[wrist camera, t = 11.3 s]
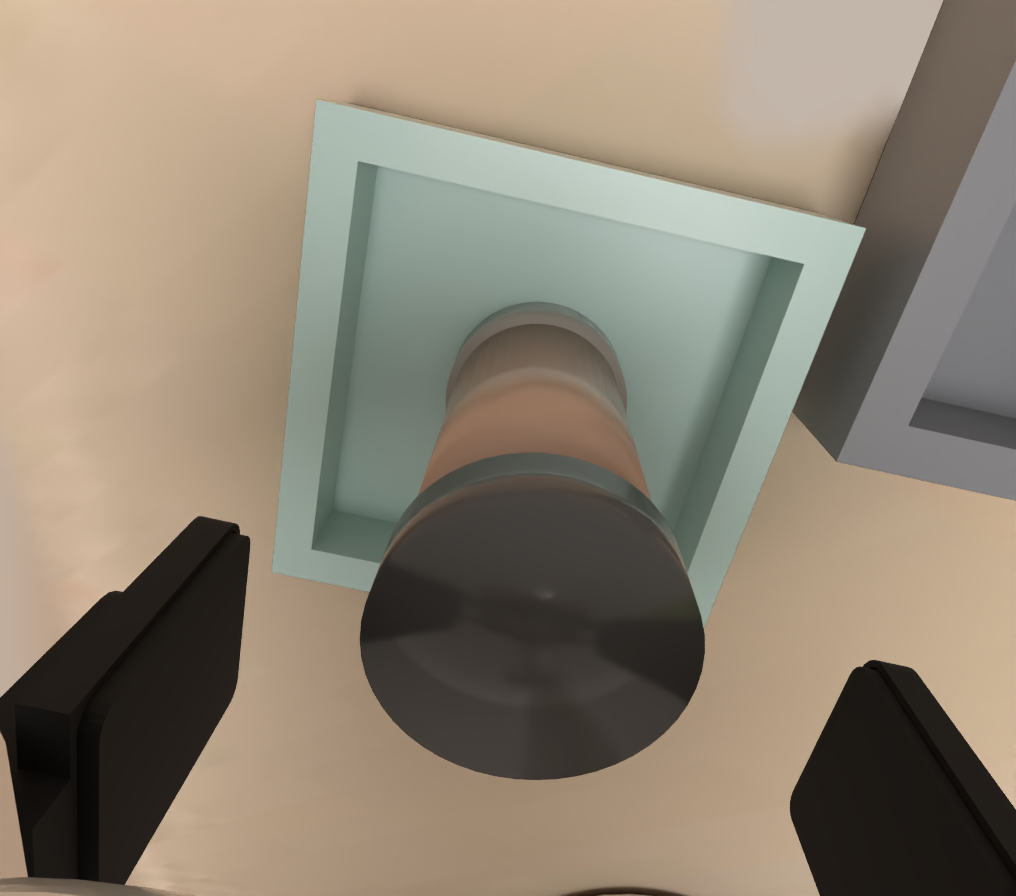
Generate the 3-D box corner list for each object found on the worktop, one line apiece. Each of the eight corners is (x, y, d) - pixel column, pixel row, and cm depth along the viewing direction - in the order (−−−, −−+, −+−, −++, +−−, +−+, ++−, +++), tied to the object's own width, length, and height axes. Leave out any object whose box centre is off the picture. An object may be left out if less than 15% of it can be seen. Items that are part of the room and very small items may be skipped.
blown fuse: (596, 476, 21) (647, 805, 11) (438, 443, 21) (340, 746, 11) (642, 323, 19) (755, 546, 9) (469, 284, 19) (386, 468, 9)
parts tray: (674, 594, 23) (692, 657, 21) (304, 518, 23) (271, 572, 20) (817, 212, 18) (865, 228, 16) (351, 103, 18) (316, 99, 15)
